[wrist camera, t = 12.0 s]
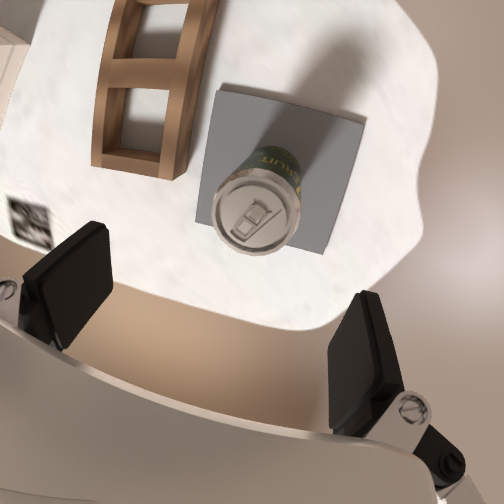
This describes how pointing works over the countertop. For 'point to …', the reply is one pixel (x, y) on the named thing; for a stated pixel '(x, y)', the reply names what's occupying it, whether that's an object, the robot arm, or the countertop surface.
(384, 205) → the countertop surface
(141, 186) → the countertop surface
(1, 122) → the pizza boxes
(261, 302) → the countertop surface
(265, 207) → the beer can
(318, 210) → the rubber mat
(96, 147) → the can holder
